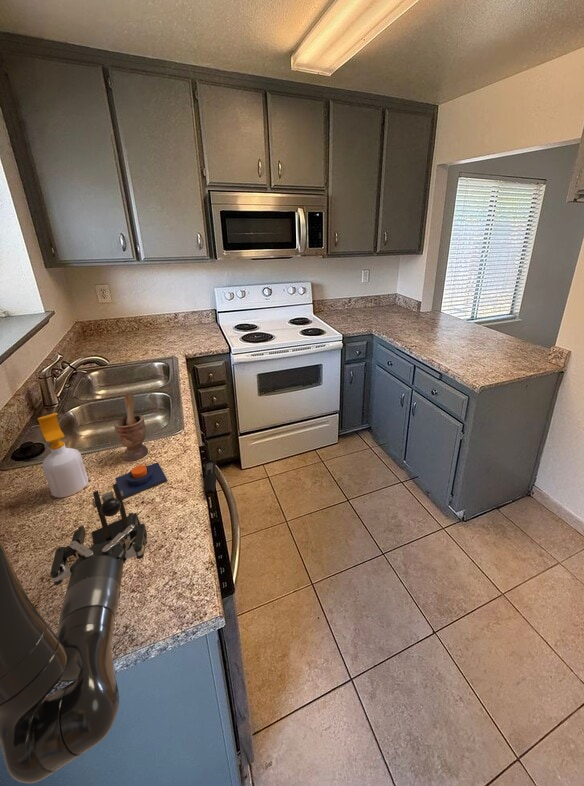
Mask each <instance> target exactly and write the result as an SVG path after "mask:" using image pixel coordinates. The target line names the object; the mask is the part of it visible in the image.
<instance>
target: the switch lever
mask: <svg viewBox="0 0 584 786" xmlns="http://www.w3.org/2000/svg"><path fill="white" fill-rule="evenodd" d="M100 497H101V500H102V505H101V513H102V514H103V515H104V516H105V517H107V518H110V517H114V516H115V515H117V514H118V513H120V511H119V510H120V507H121V503H120V501H119V500H118V499H116V497H115V495H114V491H113V490H112V491H108V492H106V493H103V494H101V496H100Z"/></svg>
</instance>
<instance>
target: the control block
mask: <svg viewBox="0 0 584 786" xmlns="http://www.w3.org/2000/svg"><path fill="white" fill-rule="evenodd" d="M145 466H146V468H147V474H146V475H145V476H143V477H141V478H136V479H135V478H133V477H132V473H131V471H132V469H131V470H130V471H128V473H125V474H122V475H120V476H117V477H115V478H114V479H115V484H116V483H117V484H118V487H119V490H120V491H121V490H122V492H123V495H124V496H123V497H122V500H123V501H124V500H125V499H127V498H130V497H132V496H135V495H138V494H140V493H143V492H145V491H147V490H150V489H152V488H155V487H157V486H159V485H162V484H164V483H167V482H168V479H167V476H166V475H165V473H164V470H163V469H162V467H161V465H160V464H159V462H155V463H151V464H149V465H145Z"/></svg>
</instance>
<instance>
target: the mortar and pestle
mask: <svg viewBox="0 0 584 786" xmlns="http://www.w3.org/2000/svg"><path fill="white" fill-rule="evenodd" d="M123 400H124V406H125V411H126V412H125V413H126V415H124V416H121V417H120V418H117V419H116V420H115V421H114V422H113V426H114V430H115V434H116V437H117V439H118V441H119V443H120V444H121V446H123V447H125V448H126V449H125V450H124V453H123V459H124V460H125V461H128V462H134V461H138V460H140V459H143V458H144V457H146V456H147V455H148V453H149V449H148V447H147V446H146V445H145V444H143V442H144V441H145V440H146V433H147V432H146V430H147V429H146V424H145V423H146V422H145V418H144V416H143V415H141V414H136V413H135V412H134V411H135V409H134V406H135V395H134V393H132V392H131V393H125V394H124V399H123Z"/></svg>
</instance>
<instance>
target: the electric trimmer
mask: <svg viewBox="0 0 584 786" xmlns="http://www.w3.org/2000/svg"><path fill="white" fill-rule="evenodd" d="M203 466H204V478H203V487H204V494H205V495H211V494H214V493H215V490H216V485H217V476H216V466H217V462H216V460H215V459H213V458H209V459H207V460H205V462H204V464H203Z"/></svg>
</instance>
